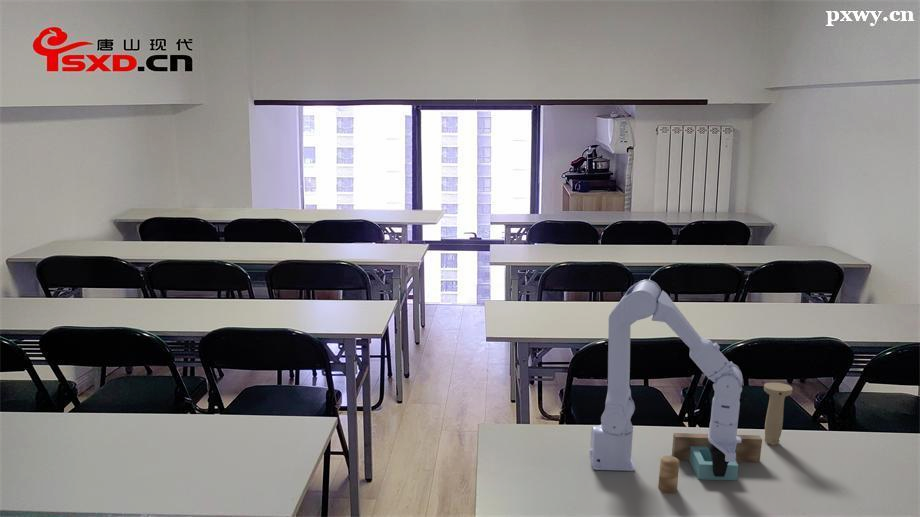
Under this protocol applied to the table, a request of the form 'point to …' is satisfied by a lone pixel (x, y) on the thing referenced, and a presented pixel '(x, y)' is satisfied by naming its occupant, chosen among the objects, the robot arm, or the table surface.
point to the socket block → (709, 464)
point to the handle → (775, 411)
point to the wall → (683, 441)
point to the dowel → (668, 474)
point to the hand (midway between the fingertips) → (718, 475)
